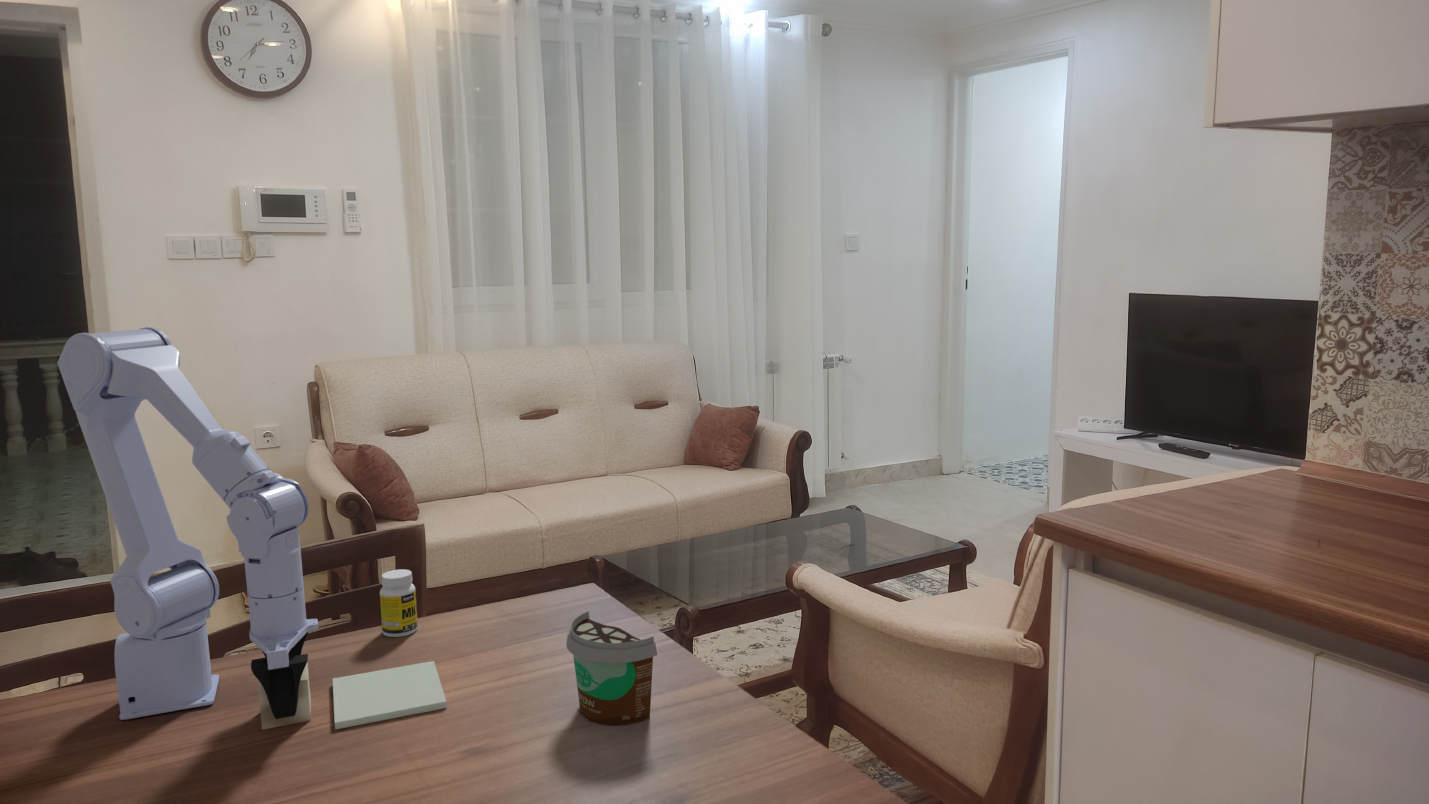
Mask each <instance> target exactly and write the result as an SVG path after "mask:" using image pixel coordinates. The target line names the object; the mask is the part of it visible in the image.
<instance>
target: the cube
mask: <svg viewBox="0 0 1429 804" xmlns="http://www.w3.org/2000/svg"><path fill="white" fill-rule="evenodd" d="M308 663H309V662H308V661H307V664H306V666H305V668H304V671H303V673H302V676H301V679H300V684H299V691H298V703H297V710H296V714H295V716H291V717H285V718H280V719H275V717H274V715H273V713H272V710H271V707H270V704H269V701H268V698H267V695H266V692H265V690H264V688H263V686H262V685H261V683H260V681H259V680H258V686H257V690H258V700H259V710H260V711H259V712H260V723H261V730H267V729H272V728H277V727H278V728H279V727H282V726H290V725H293V724H299V723H304V722H309V721H311V720H312V719H311V718H312V701H311V700H312V699H311V688H310V687H311V685H310V675H309V665H308Z"/></svg>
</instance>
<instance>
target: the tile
mask: <svg viewBox="0 0 1429 804" xmlns="http://www.w3.org/2000/svg"><path fill="white" fill-rule="evenodd" d="M332 693H333V694H332V695H333V697H332V698H333V714H334V716H333V717H334V730H339V729H345V728H350V727H355V726H361V725H365V724H372V723H376V722H382V721H385V720H393V719H396V718H401V717H406V716H407V717H408V716H412V715H417V714H422V713H427V712H433V711H437V710H443V709H447V707H448V706H447V699H446V694H445V692H444V689H443V686H442V683H441V680H440V676H439V673H438V670H437V667H436V663H435V660H433V661H426V662H420V663H414V664H409V665H402V666H397V667H391V668H387V669H386V668H385V669H380V670H379V669H378V670H373V671H370V672H363V673H358V674H357V673H356V674H351V675H345V676H339V677H333V678H332Z"/></svg>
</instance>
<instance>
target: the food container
mask: <svg viewBox="0 0 1429 804" xmlns="http://www.w3.org/2000/svg"><path fill="white" fill-rule="evenodd" d="M565 645H566V648H567V650H568V651H569V653H571V654H572V656H573V664H574V672H575V679H576V688H577V694H578V696H577V697H578V702H579V703H578V704H579V710H580V714H581V715H582V717H583V718H584V719H585V720H587V721H588V722H591V723H593V724H597V725H601V726H610V727H618V726H629V725H634V724H638V723H642V722H644V721H646V720H648V719H650V718H651V706H652V705H651V702H652V700H651V699H652V687H653V686H652V685H653V684H652V681H653V666H654V665H653V663H654V657H656V656H658V651H657V645H656V642H655V638H654V635H653V636H651V637H650V636H649V637H647V638H644V639H640V638H638V637H636V636H634V635H632V634H630V633H629V632H627V631H626V630H623V629H622V628H620V627H617V626H612V625H606V624H602V623H600V622H598V621H595V620H592V619H590V611H589V610H588V611H585V612H583V613H581V614H579V615H577V616H576V617H575V618H574V619H573V620H572V621H571V624H570V626H569V628H568V632H567V638H566V643H565Z"/></svg>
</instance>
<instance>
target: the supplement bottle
mask: <svg viewBox="0 0 1429 804" xmlns="http://www.w3.org/2000/svg"><path fill="white" fill-rule="evenodd" d="M413 580H414V579H413V572H412V571H411V570H410V569H406V568H405V569H402V568H401V569H400V568H399V569H393V570H389V571H386V572H384V573H383V574H382V575H381V586H382V587H381V588H380V590H379V602H380V614H381V630H382V631H381V632H382V634H383V636H385V637H388V638H389V637H390V638H401V637H407V636H410V635H411V634H414V633H415V632H416V631H417V629H418V626H419V625H418V612H417V595H416V593H417V591H416V586H415V584H413Z"/></svg>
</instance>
